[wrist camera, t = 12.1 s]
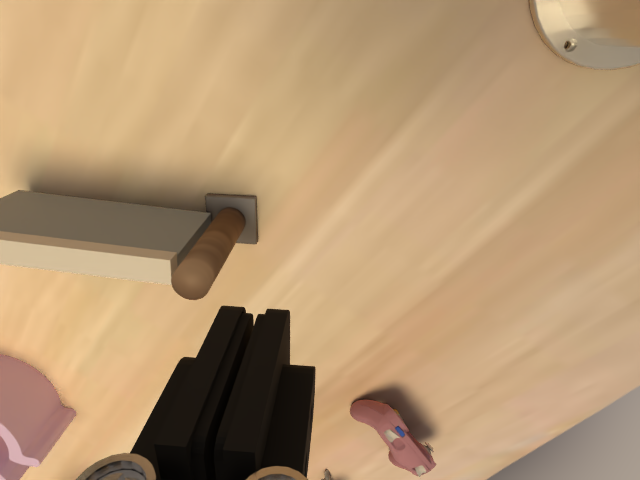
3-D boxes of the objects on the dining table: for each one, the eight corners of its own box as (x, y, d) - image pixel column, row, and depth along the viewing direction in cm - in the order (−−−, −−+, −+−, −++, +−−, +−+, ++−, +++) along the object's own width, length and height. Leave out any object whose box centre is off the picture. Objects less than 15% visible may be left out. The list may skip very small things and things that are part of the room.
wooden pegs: (207, 193, 38) (153, 252, 28) (256, 196, 38) (220, 256, 28) (225, 402, 49) (191, 500, 39) (263, 405, 49) (239, 504, 39)
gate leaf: (210, 210, 38) (170, 260, 29) (211, 230, 38) (171, 285, 30) (18, 187, 38) (-78, 230, 29) (22, 208, 39) (-69, 255, 30)
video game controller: (417, 432, 51) (452, 471, 45) (389, 458, 51) (420, 502, 44) (374, 378, 48) (404, 411, 42) (343, 405, 48) (369, 444, 41)
